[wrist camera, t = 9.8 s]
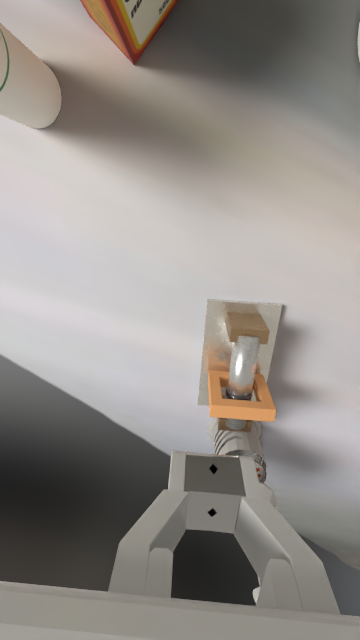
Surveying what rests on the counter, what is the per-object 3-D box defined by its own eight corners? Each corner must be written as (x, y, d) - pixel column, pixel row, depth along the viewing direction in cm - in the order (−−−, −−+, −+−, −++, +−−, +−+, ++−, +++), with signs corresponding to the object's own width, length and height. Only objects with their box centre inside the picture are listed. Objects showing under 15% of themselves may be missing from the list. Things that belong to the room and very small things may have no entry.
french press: (273, 425, 52) (334, 601, 29) (234, 463, 56) (261, 646, 33) (228, 399, 51) (255, 564, 28) (192, 441, 55) (188, 616, 32)
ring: (262, 374, 47) (276, 409, 39) (260, 384, 47) (273, 421, 39) (208, 370, 47) (211, 404, 39) (207, 380, 48) (210, 416, 40)
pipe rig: (280, 304, 44) (297, 324, 36) (260, 406, 51) (271, 441, 44) (207, 299, 44) (209, 318, 37) (197, 401, 51) (197, 435, 44)
